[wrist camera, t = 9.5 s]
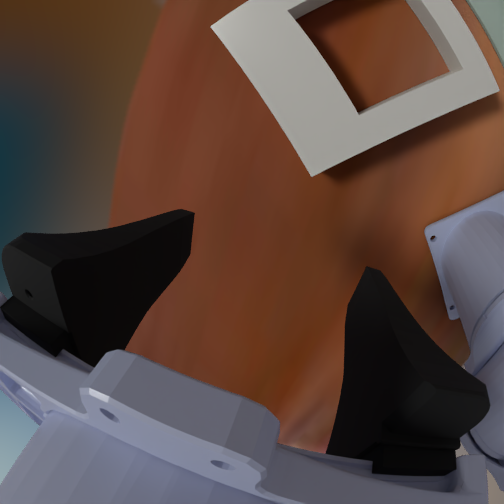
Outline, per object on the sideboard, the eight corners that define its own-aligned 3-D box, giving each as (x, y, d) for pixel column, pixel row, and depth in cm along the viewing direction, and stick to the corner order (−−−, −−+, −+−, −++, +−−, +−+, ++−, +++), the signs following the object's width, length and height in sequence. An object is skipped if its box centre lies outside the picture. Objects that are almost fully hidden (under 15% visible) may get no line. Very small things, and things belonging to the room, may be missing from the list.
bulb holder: (484, 90, 13) (499, 90, 11) (315, 167, 20) (311, 176, 18) (392, -50, 10) (396, -65, 8) (225, 33, 17) (210, 26, 15)
